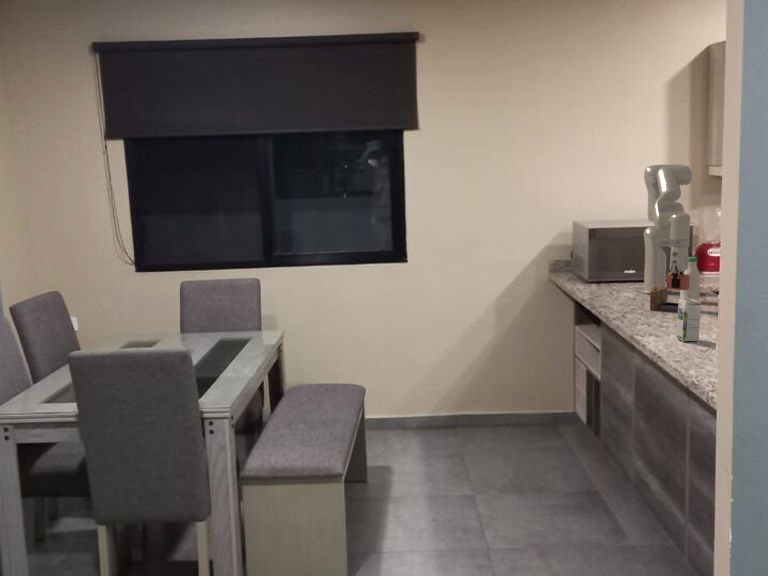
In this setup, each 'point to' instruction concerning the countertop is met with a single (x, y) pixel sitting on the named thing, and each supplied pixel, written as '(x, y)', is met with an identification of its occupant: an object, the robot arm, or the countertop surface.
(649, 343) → the countertop surface
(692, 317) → the syrup box
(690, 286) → the milk bottle
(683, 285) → the red block
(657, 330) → the countertop surface
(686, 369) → the countertop surface
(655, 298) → the door board
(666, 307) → the tray
